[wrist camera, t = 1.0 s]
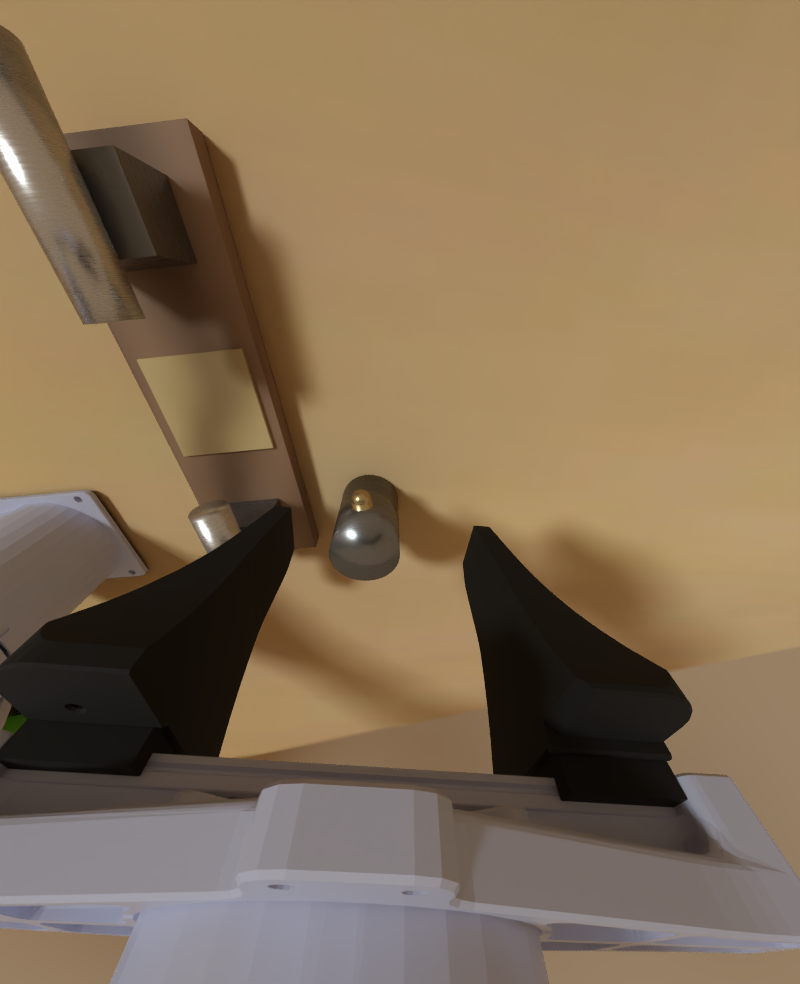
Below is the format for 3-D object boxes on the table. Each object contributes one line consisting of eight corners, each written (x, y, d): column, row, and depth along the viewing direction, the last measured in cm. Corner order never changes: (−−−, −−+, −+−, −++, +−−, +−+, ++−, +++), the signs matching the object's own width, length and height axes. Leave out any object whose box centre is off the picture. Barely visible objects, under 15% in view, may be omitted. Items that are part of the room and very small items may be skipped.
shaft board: (231, 544, 25) (223, 556, 24) (43, 152, 14) (9, 137, 12) (319, 536, 25) (315, 548, 24) (202, 132, 13) (183, 115, 12)
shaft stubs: (246, 557, 24) (214, 613, 20) (42, 116, 12) (-147, 16, 8) (297, 553, 24) (277, 608, 20) (142, 104, 12) (7, -4, 8)
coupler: (350, 533, 25) (339, 594, 20) (335, 464, 22) (318, 516, 16) (401, 529, 25) (403, 589, 19) (393, 459, 21) (394, 509, 16)
